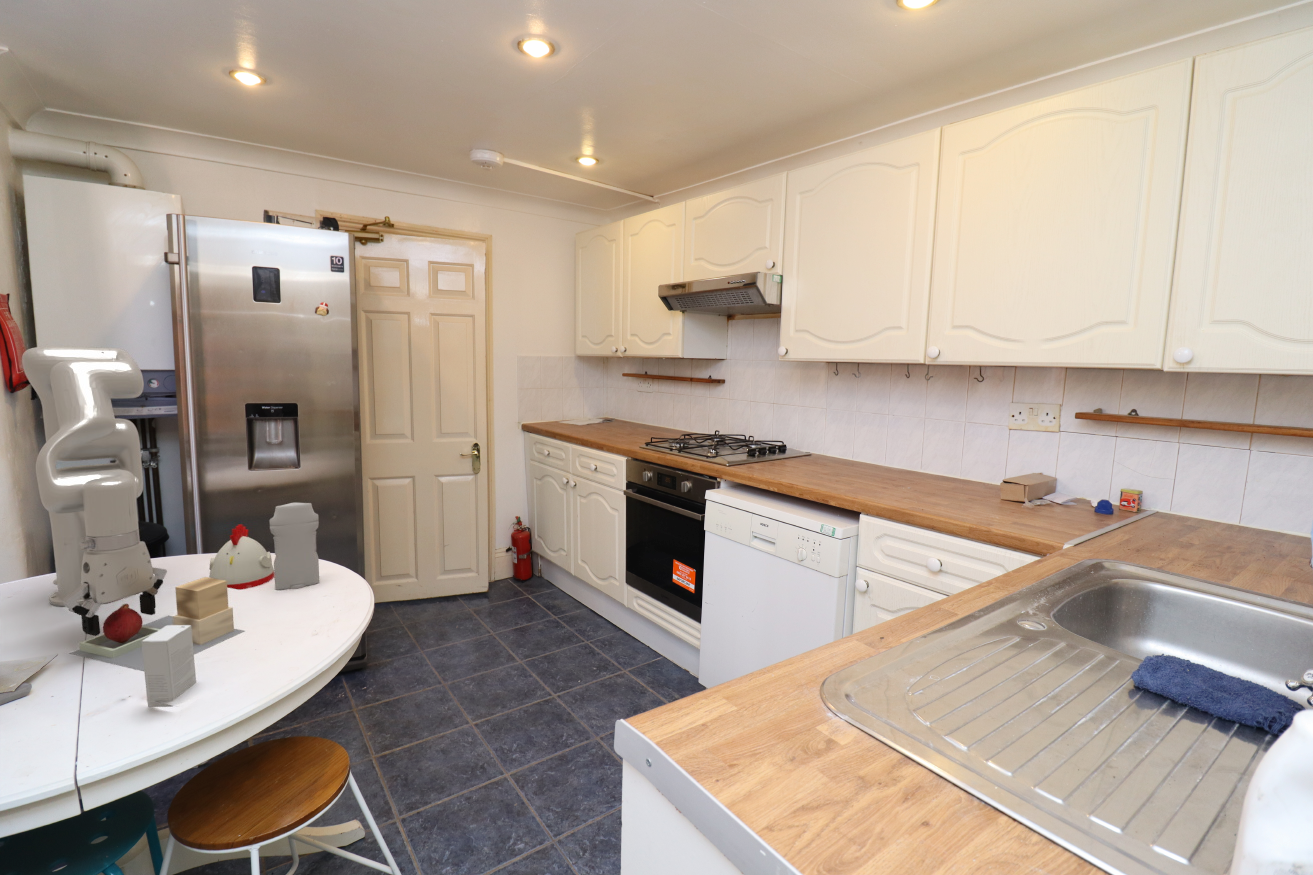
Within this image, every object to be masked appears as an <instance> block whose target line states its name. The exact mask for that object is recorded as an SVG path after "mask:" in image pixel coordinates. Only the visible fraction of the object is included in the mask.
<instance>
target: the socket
mask: <svg viewBox="0 0 1313 875" xmlns="http://www.w3.org/2000/svg"><path fill="white" fill-rule="evenodd" d="M143 625H144V624H142V627H141V629H140V630H139V632H138V633H140V634H144V635H147V636H145V637H142V638H140V639H137V640H135V641H132V642H130V643H127V644H125V645H122V646H120V647H117V648H115V649H112V648H108V647H104V646H99V645H98V644H101V643H103V642H106V641H108V640H110V639H108V638H107V637H106V636H105V635H104V633H102V634H99V635H97V636H93V637H90V638H88V639H86V640H82V641H80V642H79V643H78V650H80V651H84V652H89V653H93V654H97V655H101V656H106V657H110V658H115V657H117V656H120V655H122V654H125V653H127V652H130V651H132V650H134V649H137V648H139V647H142V643H141V641H143V640H144V639H146V638H148V637H149V636H151V635H152V634H154V633H156V632H157V631H159V630H160V629H157V628H152V627H147V626H143Z"/></svg>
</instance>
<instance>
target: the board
mask: <svg viewBox="0 0 1313 875" xmlns="http://www.w3.org/2000/svg"><path fill="white" fill-rule="evenodd" d="M173 616H174V615H165V616H164V617H161V618H158V619H155V620H153V621H150V622H148V623H146V624H142V625H143V626H147V627H152V628H157V629H162V628H163V627H165V626H167V625H174V623H173ZM244 632H246V630H242V629H239V628H234V630H233V631H231V632H229V633H226V634H224V635H222V636H220V637H217V638H215V639H213V640H211V641H209V642H206V643H204V644H202V645H198V644H194V643H193V651H194V655H196V654H199V653H201V652H203V651H205V650H207V649H210V648H211V647H214V646H216V645H219V644H221V643H222V642H225V641H228V640H229V639H231V638H233V637H236V636H238V635H240V634H242V633H244ZM145 636H147V635H144V634H140V633H137V634H136V635H134V636H133V637H132V638H130V639H129V640H128V641H126V642H125V643H118V642H115V641H112V640H108V641H106V642H103V643H101V644H98V645H99V646H104V647H108V648H112V649H115V648H117V647H120V646H122V645H125V644H127V643H130V642H132V641H135V640H137V639H140V638H142V637H145ZM69 654H70V655H74V656H77V657H82V658H85V659H86V658H87V659H89V660H94V661H99V662H103V663H107V664H110V665H117V666H120V667H124V668H127V669H133V670H136V671H140V672H144V662H143V653H142V647H139V648H137V649H134V650H132V651H130V652H127V653H125V654H122V655H120V656H117V657H115V658H110V657H106V656H101V655H97V654H93V653H89V652H84V651H80V650H79V649H77V650H74V651H71V652H69Z"/></svg>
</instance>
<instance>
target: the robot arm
mask: <svg viewBox="0 0 1313 875" xmlns="http://www.w3.org/2000/svg"><path fill="white" fill-rule="evenodd" d="M21 363H22V369H23V372H24V375H25V376H26V379H27V380H28V382H29V383H30V385H31V386H32V388H33V389H34V391H35V392H36V394H37V396H38V398H39V399H40V404H41V407H42V417H43V425H44V435H45V443H44V445H43V446H42V447H41V448H40V450H39V453H38V455H37V457H36V462H35V474H36V480H37V487H38V493H39V498H40V501H41V504H42V506H43V507H44V509H45V510H46V511H47V512H48V516H49V521H50V526H51V527H50V528H51V536H52V546H53V556H54V566H55V573H56V574H55V575H56V578H55V579H54V580H53V582H52V584H53V585H54V586H57V591H56V592H54V593H53V594H51V595H50V597H49V603H50V605H53V606H56V607H57V606H58V607H66V609H68V611H69V612H72V613H73V614H76V615H78V616H80V618H81V625H82V627H81V628H82V631H83V632H84V634H86V635H90V636H92V637H96V636H99V635H101V624H100V618H99V615H98V614H96V613H97V611H98V610H99V608H100V607H101V606H102V605H107V604H111V603H114V602H117V601H121V600H123V599H126V598H130V597H132V596H135V595H138V594H139V609H140V614H144V615H148V616H153V615H155V614H156V605H157V604H156V595H158V593H159V589H160V588H161V586H162V585H163V584H164V580H165V577H166V575H167V572H168V571H167V569H165V568H160V567H155V566H154V567H153V564H152V560H151V555H150V552H149V549H148V547H147V545H146V542H145V541H143V540H142V541H141V539H140V529H139V518H138V507H137V499H138V498H139V497H140V496H141V495H142V493H143V491H144V475H143V474H144V473H143V465H142V464H143V463H142V452H141V444H140V442H141V441H140V436H139V432H138V429H137V427H136V425H135V424H134V423H133V422H132V421H131V420H129V419H126V418H119V417H117V418H115V414H114V410H113V404H112V400H111V399H135V398H138V397H139V396H141V395H142V393H143V392H144V384H145V383H144V378H143V377H144V376H143V373H142V371H141V369H140V367H139V365H138V363H137V362H136V361H135V359H134V358H133V357H132V356H131V355H130V354H129V353H128V351H126V350H124V349H122V348H116V347H97V346H96V347H95V346H94V347H91V346H90V347H89V346H88V347H87V346H69V345H68V346H62V345H61V346H59V345H58V346H57V345H52V346H51V345H50V346H49V345H48V346H45V345H44V346H36V347H32V348H28V349H27V350H25V351H24V352H23V354H22V356H21ZM102 459H105V460H106V459H113V460H114V461H116V462H111V463H100V464H88V465H87V464H85V465H75V466H74V465H73V466H72V465H71V466H65V467H60V468H57V467H56V466H57V461H59V462H77V461H80V462H81V461H93V460H102Z"/></svg>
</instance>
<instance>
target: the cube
mask: <svg viewBox="0 0 1313 875" xmlns="http://www.w3.org/2000/svg"><path fill="white" fill-rule="evenodd" d="M174 588H175V599H176V600H175V601H176V602H175V603H176V615H178V616H183V617H188V618H193V619H198V620H200V619H203V618H205V617H208V616H210V615H213V614H215V613H218V612H220V611H223V610H225V609H228V608H229V607H230V606H229V593H228V588H227V581H225V580H220V579H214V578H209V576H208V577H207V576H205V577H201V578H198V579H196V580H192V581H190V582H186V583H184V584H181V585H177V586H175V587H174Z"/></svg>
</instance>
